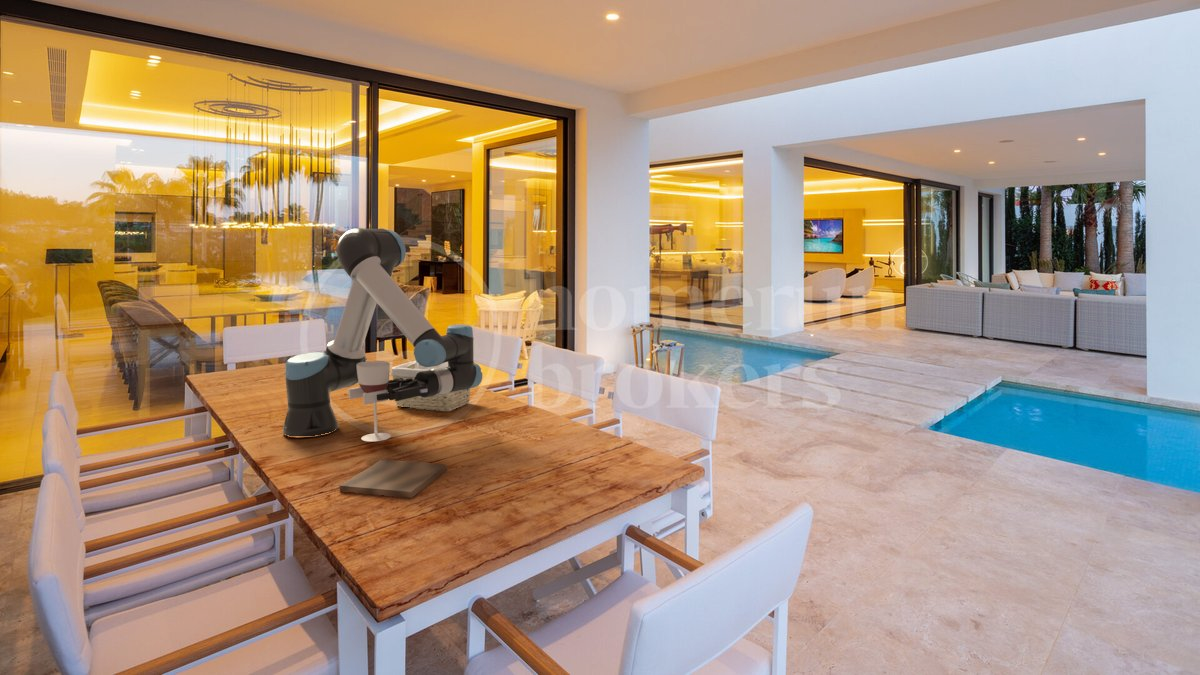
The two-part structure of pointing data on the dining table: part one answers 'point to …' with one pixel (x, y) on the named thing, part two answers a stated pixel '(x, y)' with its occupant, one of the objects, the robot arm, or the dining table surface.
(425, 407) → the storage basket
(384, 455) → the dining table surface
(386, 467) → the walnut board
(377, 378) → the wineglass
